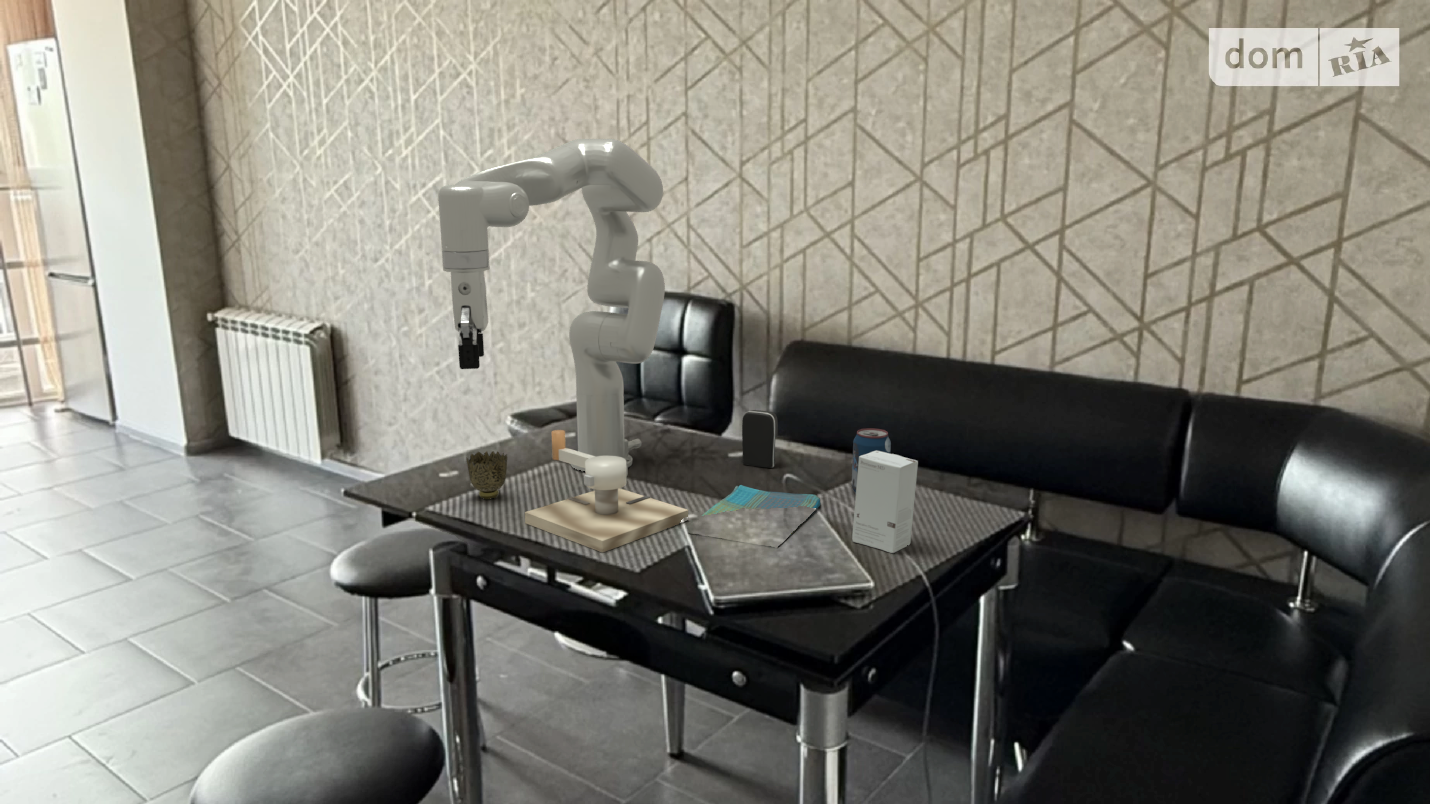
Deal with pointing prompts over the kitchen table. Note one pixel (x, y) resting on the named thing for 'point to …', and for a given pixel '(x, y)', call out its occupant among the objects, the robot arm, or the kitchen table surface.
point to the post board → (606, 518)
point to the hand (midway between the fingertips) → (472, 362)
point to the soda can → (868, 447)
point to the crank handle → (591, 465)
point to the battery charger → (759, 438)
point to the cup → (487, 473)
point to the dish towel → (762, 500)
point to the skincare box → (884, 501)
